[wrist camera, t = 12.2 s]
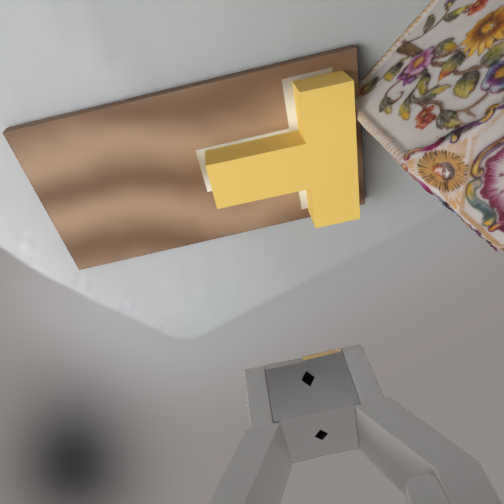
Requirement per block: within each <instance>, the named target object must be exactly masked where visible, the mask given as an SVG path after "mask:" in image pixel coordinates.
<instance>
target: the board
mask: <svg viewBox="0 0 504 504" xmlns="http://www.w3.org/2000/svg"><path fill="white" fill-rule="evenodd" d="M341 70H343V71H344V72H345V73H346V74H347V75H348V76H350V77H351V78H352V79H353V80H354V93H355V99H356V98H357V97H358V95H359V81H358V63H357V48H356V47H355V46H354V45H351V46H347V47H342V48H338V49H334V50H330V51H326V52H322V53H317V54H313V55H309V56H305V57H301V58H297V59H292V60H288V61H284V62H280V63H276V64H272V65H267V66H263V67H259V68H255V69H251V70H247V71H243V72H238V73H234V74H230V75H226V76H222V77H218V78H213V79H209V80H205V81H201V82H197V83H193V84H188V85H184V86H180V87H176V88H172V89H168V90H163V91H159V92H155V93H151V94H147V95H143V96H138V97H134V98H130V99H126V100H122V101H118V102H113V103H109V104H105V105H101V106H97V107H93V108H88V109H84V110H80V111H76V112H72V113H68V114H64V115H59V116H55V117H51V118H47V119H43V120H39V121H34V122H30V123H26V124H22V125H18V126H14V127H9V128H6V130H5V131H4V132H3V134H4V136H5V138H6V140H7V142H8V143H9V145H10V147H11V149H12V151H13V152H14V154H15V156H16V158H17V160H18V161H19V163H20V165H21V167H22V168H23V170H24V172H25V174H26V176H27V177H28V179H29V181H30V183H31V185H32V186H33V188H34V190H35V192H36V194H37V195H38V197H39V199H40V201H41V202H42V204H43V206H44V208H45V210H46V211H47V213H48V215H49V217H50V219H51V220H52V222H53V224H54V226H55V228H56V229H57V231H58V233H59V235H60V237H61V238H62V240H63V242H64V244H65V245H66V247H67V249H68V251H69V253H70V254H71V256H72V258H73V260H74V262H75V263H76V265H77V267H78V269H79V270H81V269H86V268H90V267H94V266H99V265H103V264H107V263H112V262H116V261H120V260H125V259H129V258H133V257H138V256H142V255H146V254H151V253H155V252H159V251H164V250H168V249H172V248H177V247H181V246H185V245H190V244H194V243H198V242H203V241H207V240H211V239H216V238H220V237H224V236H229V235H233V234H237V233H242V232H246V231H250V230H255V229H259V228H263V227H268V226H272V225H276V224H281V223H285V222H289V221H294V220H298V219H302V218H307V217H311V216H310V213H309V211H308V203H307V195H306V190H303V191H298V192H294V193H289V194H284V195H280V196H275V197H271V198H266V199H262V200H257V201H252V202H248V203H243V204H239V205H234V206H230V207H225V208H220V209H217V207H216V203H215V199H214V196H213V192H212V188H211V184H210V181H209V177H208V173H207V170H206V165H205V151H206V150H210V149H215V148H220V147H224V146H229V145H233V144H238V143H242V142H247V141H251V140H256V139H260V138H265V137H269V136H274V135H278V134H283V133H287V132H292V131H296V130H298V124H297V116H296V108H295V100H294V92H293V84H292V81H296V80H301V79H305V78H310V77H314V76H319V75H323V74H328V73H332V72H337V71H341ZM356 138H357V160H358V182H359V205H363V204H365V193H364V175H363V156H362V137H361V123H360V122H359V121H358V120H357V119H356Z"/></svg>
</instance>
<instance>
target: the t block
mask: <svg viewBox="0 0 504 504" xmlns="http://www.w3.org/2000/svg"><path fill="white" fill-rule="evenodd" d="M292 84H293V92H294V100H295V108H296V116H297V124H298V130H296V131H292V132H287V133H283V134H278V135H274V136H269V137H265V138H260V139H256V140H251V141H247V142H242V143H238V144H233V145H229V146H224V147H220V148H215V149H210V150H206V151H205V165H206V170H207V173H208V177H209V181H210V184H211V188H212V192H213V196H214V199H215V203H216V207H217V209H220V208H225V207H230V206H234V205H239V204H243V203H248V202H252V201H257V200H262V199H266V198H271V197H275V196H280V195H284V194H289V193H294V192H298V191H303V190H306V195H307V203H308V211H309V213H310V216H311V218H312V221H313V223H314V225H315V228H318V227H323V226H328V225H332V224H337V223H341V222H346V221H351V220H355V219H360V205H359V182H358V160H357V138H356V115H355V93H354V80H353V79H352V78H351V77H350V76H348V75H347V74H346V73H345V72H344V71H343V70H341V71H337V72H332V73H328V74H323V75H319V76H314V77H310V78H305V79H301V80H296V81H292Z"/></svg>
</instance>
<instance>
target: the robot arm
mask: <svg viewBox="0 0 504 504" xmlns="http://www.w3.org/2000/svg"><path fill="white" fill-rule="evenodd" d="M244 371H245V372H244V379H245V387H246V395H247V404H248V412H249V421H250V428H249V429H245V430H244V432H243V434H242V436H241V438H240V440H239V442H238V444H237V446H236V448H235V450H234V453H233V454H232V456H231V458H230V460H229V462H228V465H227V467H226V469H225V471H224V473H223V475H222V477H221V479H220V481H219V483H218V485H217V487H216V489H215V491H214V493H213V495H212V497H211V499H210V502H209V503H208V504H280V502H281V499H282V496H283V493H284V490H285V487H286V484H287V481H288V478H289V474H290V472H291V468H292V463H296V462H300V461H304V460H308V459H312V458H316V457H320V456H324V455H329V454H334V453H339V452H344V451H350V450H355V449H360V451H361V452H362V453H363V454H364V455H365V456H366V457H367V458H368V459H369V460H370V461H371V462H372V463H373V464H374V465H375V466H376V467H377V468H378V469H379V470H380V471H381V472H382V473H383V474H384V475H385V476H386V477H387V478H389V480H390V481H391V482H392V483H393V484H394V485H395V486H396V487H397V488H398V489H399V490H400V491H402V492H403V494H404V495H405V496H406V503H405V504H502V502H501V500H500V498H499V496H498V495H497V493H496V491H495V489H494V487H493V485H492V484H491V482H490V480H489V478H488V476H487V475H486V473H485V471H484V469H483V467H482V465H481V464H480V462H479V461H478V460H477V459H475V458H474V457H473V456H471V455H470V454H468V453H467V452H466V451H464V450H463V449H461V448H460V447H459V446H457V445H456V444H455V443H453V442H452V441H450V440H449V439H447V438H446V437H445V436H444V435H442V434H441V433H439V432H438V431H437V430H435V429H434V428H432V427H431V426H430V425H428V424H427V423H425V422H424V421H423V420H421V419H420V418H419V417H417V416H416V415H414V414H413V413H412V412H410V411H409V410H407V409H406V408H405V407H403V406H402V405H400V404H399V403H398V402H396V401H395V400H393V399H392V398H384V396H383V394H382V391H381V389H380V386H379V384H378V382H377V379H376V377H375V375H374V372H373V370H372V368H371V365H370V363H369V360H368V358H367V356H366V353H365V351H364V349H363V347H362V346H361V345H360V344H358V345H353V346H349V347H345V348H341V349H340V348H338V349H334V350H330V351H326V352H321V353H317V354H313V355H309V356H305V357H302V358H299V359H294V360H289V361H284V362H279V363H274V364H269V365H264V366H259V367H254V368H250V369H245V370H244Z"/></svg>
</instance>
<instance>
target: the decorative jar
mask: <svg viewBox="0 0 504 504" xmlns="http://www.w3.org/2000/svg"><path fill="white" fill-rule="evenodd" d="M355 115H356V119H357V120H358V121H359V122H360V123H361V125H362V126H363V127H364V128H365V129H366V130H367V131H368V132H369V133H370V134H371V135H372V136H373V137H374V138H375V139H376V140H377V141H378V142H379V143H380V144H381V145H382V146H383V147H384V148H385V150H387V151H388V152H389V153H390V154H391V155H392V156H393V157H394V159H395V160H397V161H398V163H399V164H400V165H401V166H402V168H403V169H404V170H405V171H406V172H408V173H409V174H410V175H411V176H412V177H413V178H414V179H415V180H416V181H417V182H418V183H420V185H421V186H422V187H423V188H424V189H425V190H426V191H427V192H429V193H430V194H432V195H434V196H435V197H437V198H438V199H439V200H440V202H441V203H442V205H443V206H444V207H446V208H448V209H450V210H451V211H452V212H453V213H454V214H456V215H458V216H459V217H460V218H461V219H462V221H463V222H464V223H465V224H466V225H467V226H468V227H469V228H471V229H472V230H474V231H475V232H476V234H477V235H479V236H480V237H481V238H483V239H486V241H487V242H488V243H489V244H490V245H491V247H493V248H494V250H496V251H504V0H432V1H431V2H430V3H429V4H428V5H427V7H426V8H425V9H424V10H423V11H422V12H421V13H420V14H419V16H418V17H417V18H416V19H415V20H414V21H413V22H412V23H411V25H410V26H409V27H408V28H407V29H406V30H405V32H404V33H403V34H402V35H401V36H400V37H399V38H398V39H397V41H396V42H395V43H394V44H393V45H392V46H391V47H390V48H389V50H388V51H387V52H386V53H385V54H384V55H383V56H382V57H381V59H380V60H379V61H378V62H377V63H376V64H375V66H374V67H373V68H372V69H371V70H370V71H369V73H368V74H367V75H366V76H365V77H364V78H363V79H362V80H361V82H360V83H359V95H358V97H357V98H356V99H355Z"/></svg>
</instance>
